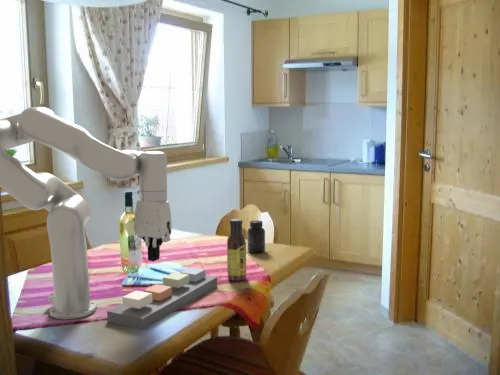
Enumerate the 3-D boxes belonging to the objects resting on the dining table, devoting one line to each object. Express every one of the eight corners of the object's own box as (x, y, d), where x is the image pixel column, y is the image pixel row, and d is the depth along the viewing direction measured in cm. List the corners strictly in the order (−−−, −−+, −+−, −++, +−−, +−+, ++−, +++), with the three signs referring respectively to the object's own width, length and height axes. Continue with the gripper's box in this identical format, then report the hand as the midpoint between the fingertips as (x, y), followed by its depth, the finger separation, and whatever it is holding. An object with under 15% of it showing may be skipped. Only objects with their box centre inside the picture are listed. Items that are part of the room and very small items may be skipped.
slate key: (180, 279, 171) (180, 272, 170) (190, 274, 176) (190, 267, 175) (195, 282, 168) (195, 274, 168) (205, 276, 173) (205, 269, 173)
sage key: (163, 285, 163) (162, 277, 162) (174, 279, 167) (173, 272, 167) (178, 287, 160) (178, 280, 160) (189, 282, 165) (189, 274, 165)
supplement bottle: (267, 253, 210) (267, 222, 209) (250, 254, 209) (249, 224, 207) (262, 248, 217) (262, 219, 215) (245, 250, 215) (245, 220, 214)
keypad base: (107, 321, 147) (107, 311, 146) (185, 281, 179) (185, 272, 178) (143, 329, 141) (142, 318, 141) (217, 286, 173) (216, 277, 173)
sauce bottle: (244, 282, 177) (243, 222, 174) (225, 281, 178) (224, 221, 175) (248, 275, 183) (247, 218, 180) (230, 275, 185) (228, 217, 182)
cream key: (122, 305, 147) (122, 296, 146) (136, 298, 152) (135, 290, 151) (139, 308, 144) (138, 300, 144) (152, 301, 149) (152, 293, 149)
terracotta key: (144, 298, 155) (143, 290, 155) (156, 292, 160) (155, 284, 159) (160, 301, 152) (159, 292, 152) (172, 294, 157) (171, 286, 157)
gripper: (123, 195, 152) (124, 259, 154) (167, 200, 145) (167, 267, 148) (140, 191, 158) (141, 253, 161) (183, 196, 151) (183, 260, 154)
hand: (153, 259), depth 154 cm, fingers closed
